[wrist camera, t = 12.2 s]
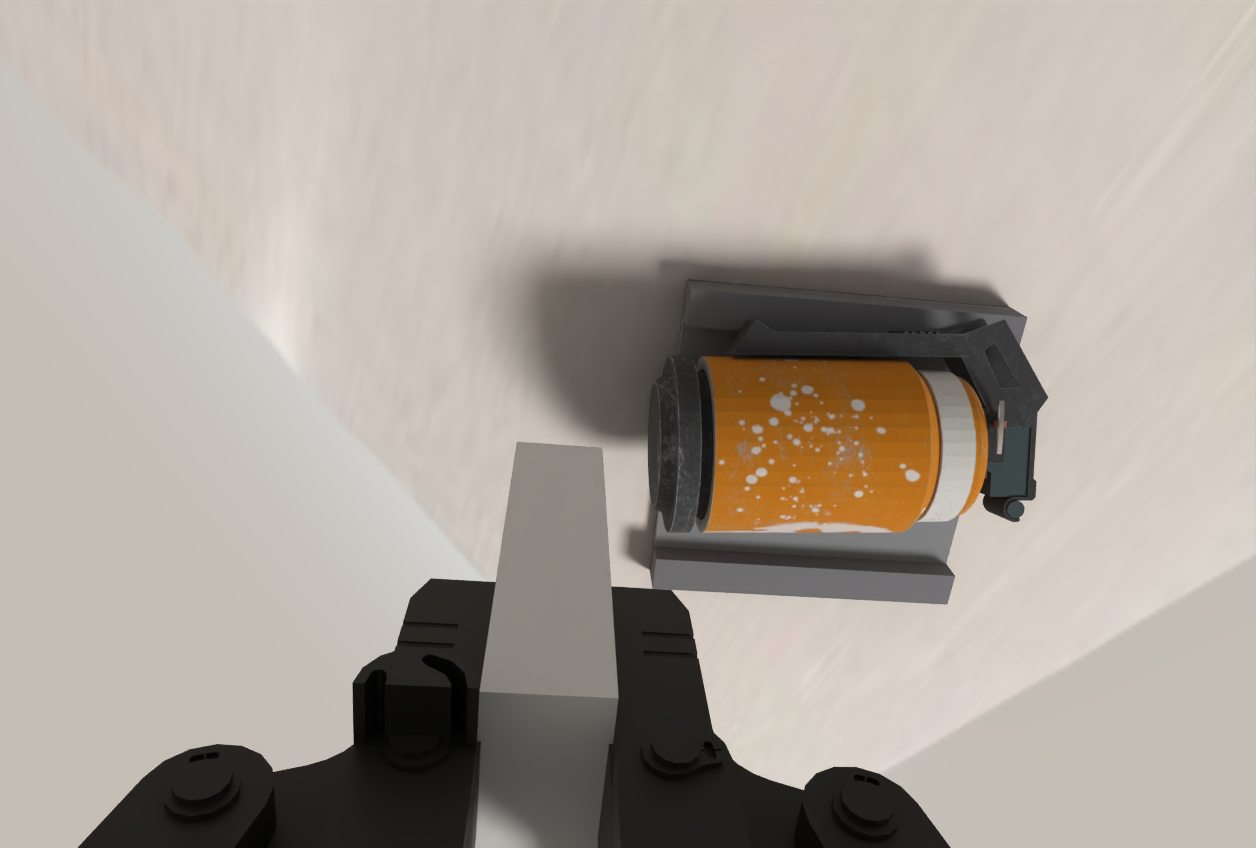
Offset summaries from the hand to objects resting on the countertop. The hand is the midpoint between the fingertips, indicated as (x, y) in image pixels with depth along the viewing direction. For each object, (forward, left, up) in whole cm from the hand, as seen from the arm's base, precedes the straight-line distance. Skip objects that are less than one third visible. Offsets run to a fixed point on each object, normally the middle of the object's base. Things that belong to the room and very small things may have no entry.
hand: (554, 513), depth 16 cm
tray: (+12, +16, -32) cm, 38 cm away
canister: (+9, +5, -28) cm, 29 cm away
